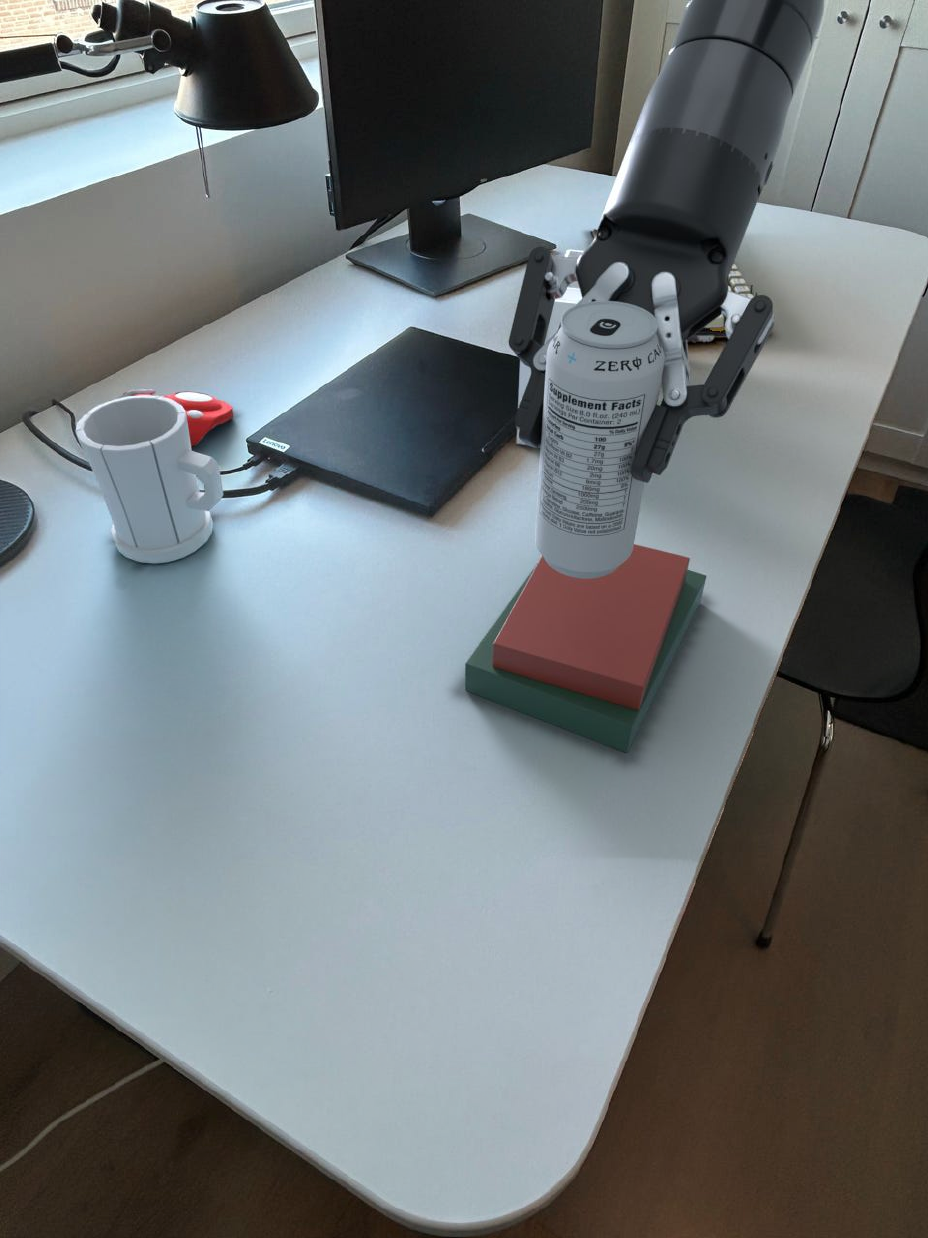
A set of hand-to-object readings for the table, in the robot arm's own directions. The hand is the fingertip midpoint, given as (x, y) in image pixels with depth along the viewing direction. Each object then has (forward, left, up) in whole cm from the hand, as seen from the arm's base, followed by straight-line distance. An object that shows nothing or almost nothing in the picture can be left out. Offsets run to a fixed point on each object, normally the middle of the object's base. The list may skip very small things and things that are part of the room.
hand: (583, 459), depth 48 cm
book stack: (-6, -8, -23) cm, 25 cm away
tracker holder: (+25, -51, -23) cm, 62 cm away
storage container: (-19, -46, -23) cm, 55 cm away
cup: (+26, -31, -23) cm, 47 cm away
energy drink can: (-1, -1, -8) cm, 8 cm away
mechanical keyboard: (-42, -72, -23) cm, 86 cm away
